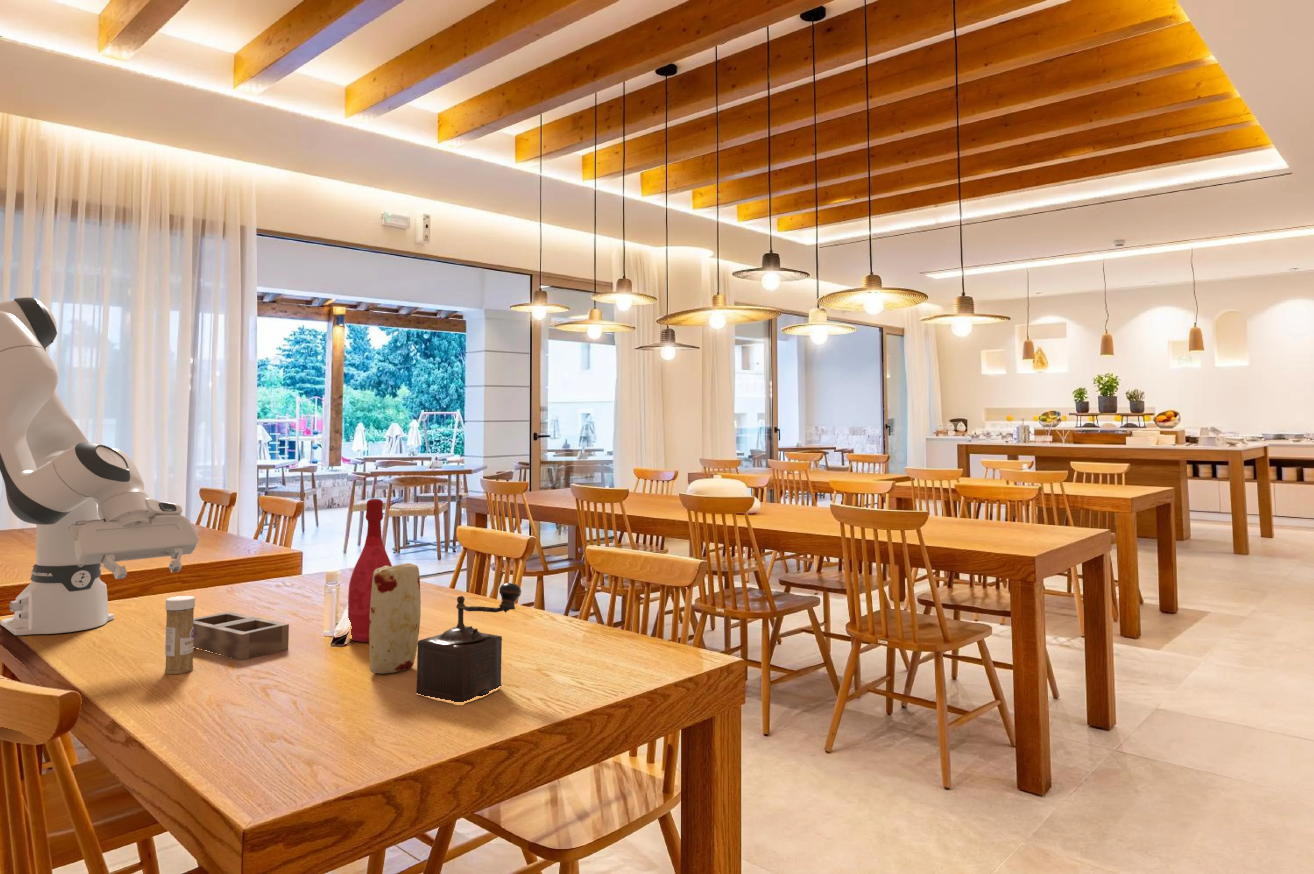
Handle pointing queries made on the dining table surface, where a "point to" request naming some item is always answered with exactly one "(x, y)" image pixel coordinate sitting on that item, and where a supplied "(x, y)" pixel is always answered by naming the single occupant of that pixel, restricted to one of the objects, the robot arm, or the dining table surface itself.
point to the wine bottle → (366, 573)
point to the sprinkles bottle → (179, 634)
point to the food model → (394, 618)
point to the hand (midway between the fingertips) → (150, 573)
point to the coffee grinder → (463, 656)
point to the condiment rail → (239, 635)
